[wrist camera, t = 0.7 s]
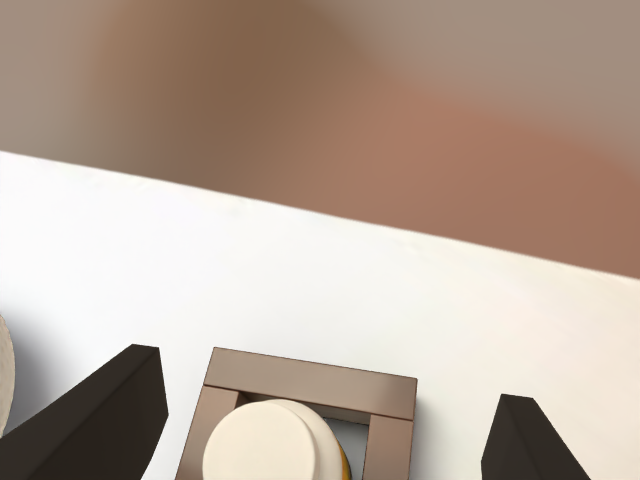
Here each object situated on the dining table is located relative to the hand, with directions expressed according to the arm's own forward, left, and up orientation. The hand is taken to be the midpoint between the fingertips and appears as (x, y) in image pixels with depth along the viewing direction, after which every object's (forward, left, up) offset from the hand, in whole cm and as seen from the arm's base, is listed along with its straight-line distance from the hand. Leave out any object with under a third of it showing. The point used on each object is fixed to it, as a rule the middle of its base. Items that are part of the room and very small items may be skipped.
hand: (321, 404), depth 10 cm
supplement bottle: (-1, +3, -17) cm, 17 cm away
